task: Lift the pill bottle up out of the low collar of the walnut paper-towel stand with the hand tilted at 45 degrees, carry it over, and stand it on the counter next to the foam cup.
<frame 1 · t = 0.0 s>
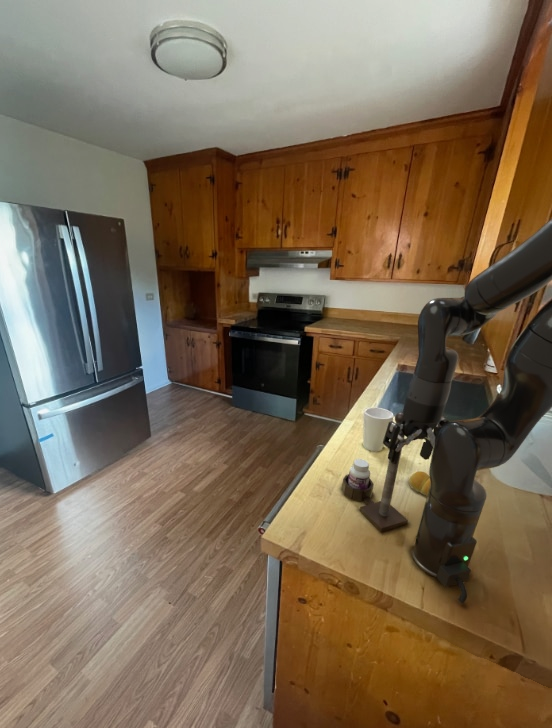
hand: (408, 459, 76), 17 cm above the counter, tool pointing down, fingers open, 8 cm apart
towel stand: (356, 492, 92), on the counter
bread roll: (424, 488, 94), on the counter
pill bottle: (356, 492, 92), resting in towel stand
foam cup: (372, 447, 115), on the counter
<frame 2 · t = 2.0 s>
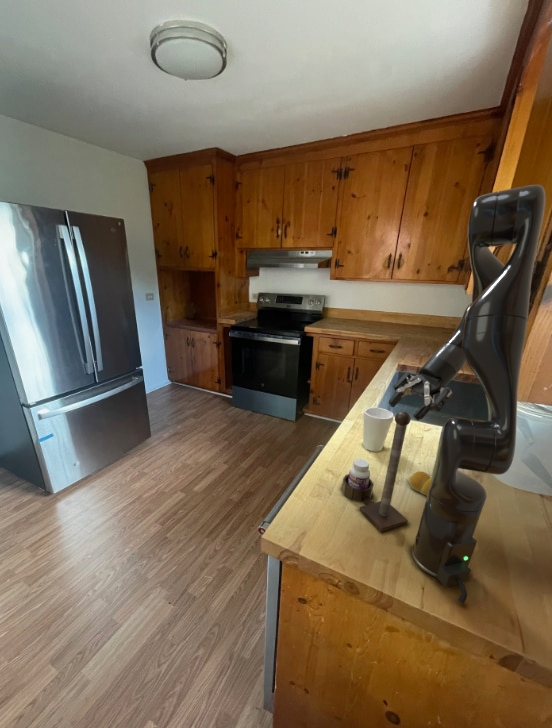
hand: (402, 411, 87), 23 cm above the counter, tool tilted 45°, fingers open, 8 cm apart
nothing on the counter moved.
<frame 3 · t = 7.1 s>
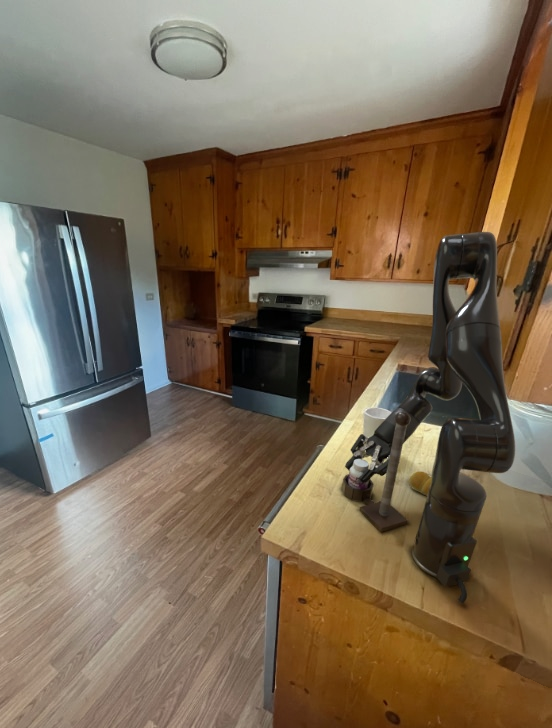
hand: (354, 474, 89), 6 cm above the counter, tool tilted 45°, fingers closed on pill bottle, 5 cm apart
pill bottle: (356, 492, 92), resting in towel stand, touching gripper
everything else where it was.
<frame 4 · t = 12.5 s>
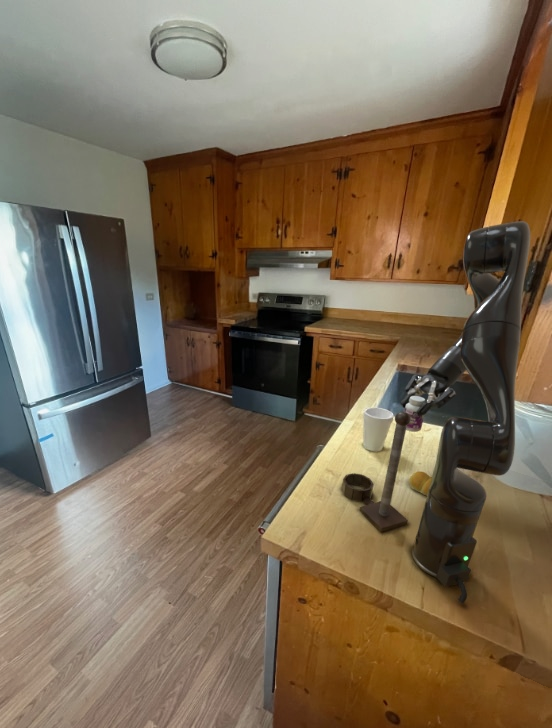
hand: (410, 410, 95), 20 cm above the counter, tool tilted 45°, fingers closed on pill bottle, 5 cm apart
pill bottle: (411, 428, 98), point 14 cm above the counter, touching gripper
everything else where it was.
when the fingers open (6 cm above the counter, at t = 17.8 s): pill bottle stays where it is, on the counter.
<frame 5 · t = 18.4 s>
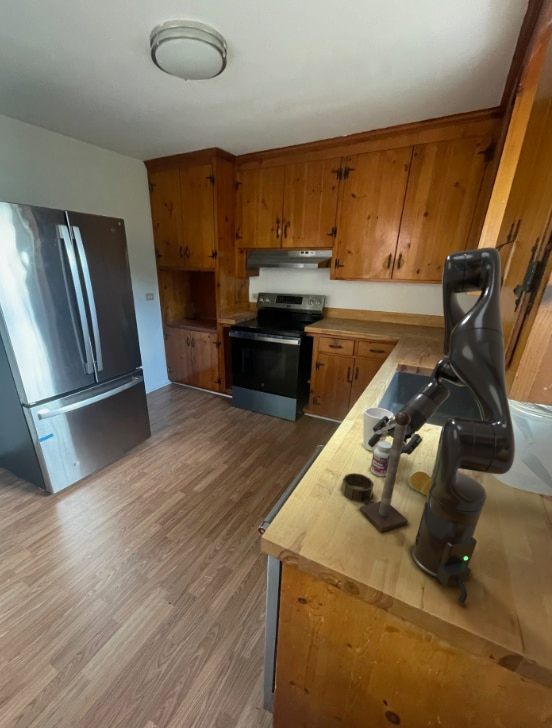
hand: (379, 452, 98), 7 cm above the counter, tool tilted 45°, fingers open, 8 cm apart
pill bottle: (379, 472, 101), on the counter
everything else where it was.
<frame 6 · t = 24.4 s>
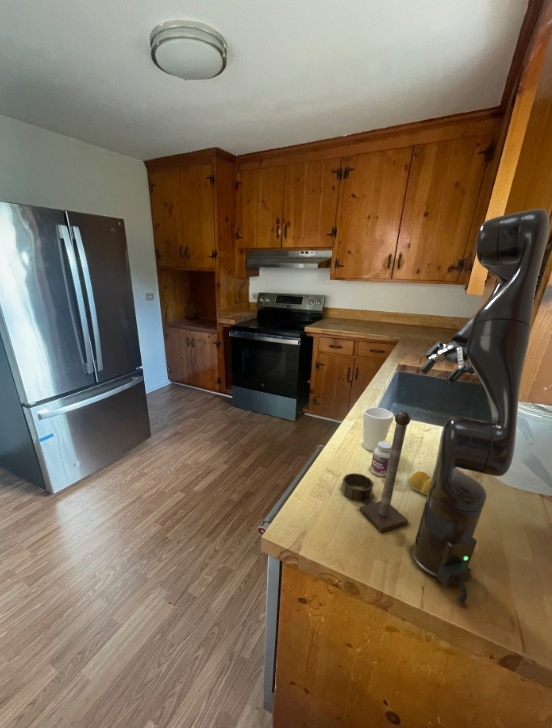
hand: (435, 376, 90), 31 cm above the counter, tool tilted 45°, fingers open, 8 cm apart
nothing on the counter moved.
at the end: pill bottle inside the target area (0.2 cm from its centre), on the counter; pill bottle 15.5 cm from the foam cup (horizontally); pill bottle tilted 0° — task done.
